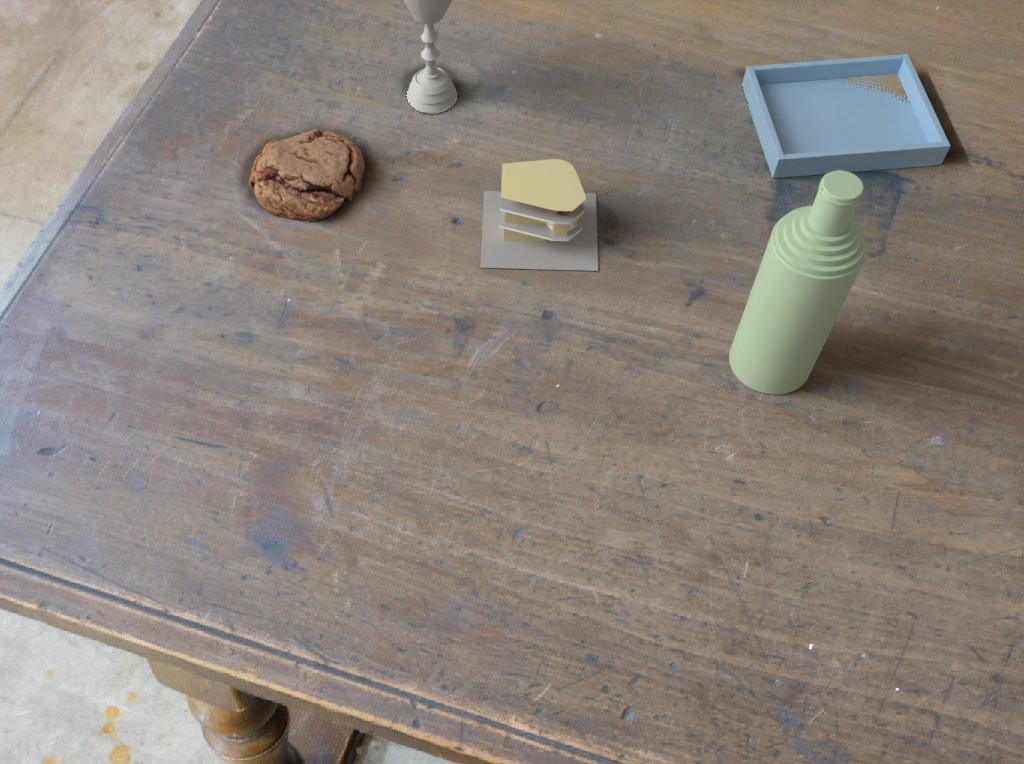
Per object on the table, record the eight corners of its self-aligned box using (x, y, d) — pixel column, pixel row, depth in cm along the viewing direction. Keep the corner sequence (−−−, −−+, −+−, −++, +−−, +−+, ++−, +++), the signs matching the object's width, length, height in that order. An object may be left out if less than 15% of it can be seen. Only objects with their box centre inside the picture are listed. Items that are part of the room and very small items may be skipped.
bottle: (799, 326, 88) (877, 145, 71) (820, 391, 84) (907, 217, 68) (720, 333, 87) (781, 152, 71) (738, 398, 84) (806, 225, 67)
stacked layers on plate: (480, 268, 92) (481, 223, 87) (483, 191, 96) (484, 144, 92) (598, 271, 91) (605, 226, 86) (596, 193, 96) (603, 147, 91)
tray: (899, 73, 103) (908, 53, 101) (940, 165, 96) (950, 145, 94) (741, 86, 102) (746, 66, 100) (772, 178, 96) (778, 159, 94)
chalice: (468, 121, 101) (468, -54, 86) (395, 124, 101) (383, -51, 86) (466, 69, 105) (466, -108, 89) (396, 71, 105) (384, -105, 90)
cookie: (388, 176, 98) (386, 151, 95) (303, 242, 94) (299, 218, 91) (313, 125, 101) (309, 100, 99) (228, 187, 98) (222, 162, 95)
